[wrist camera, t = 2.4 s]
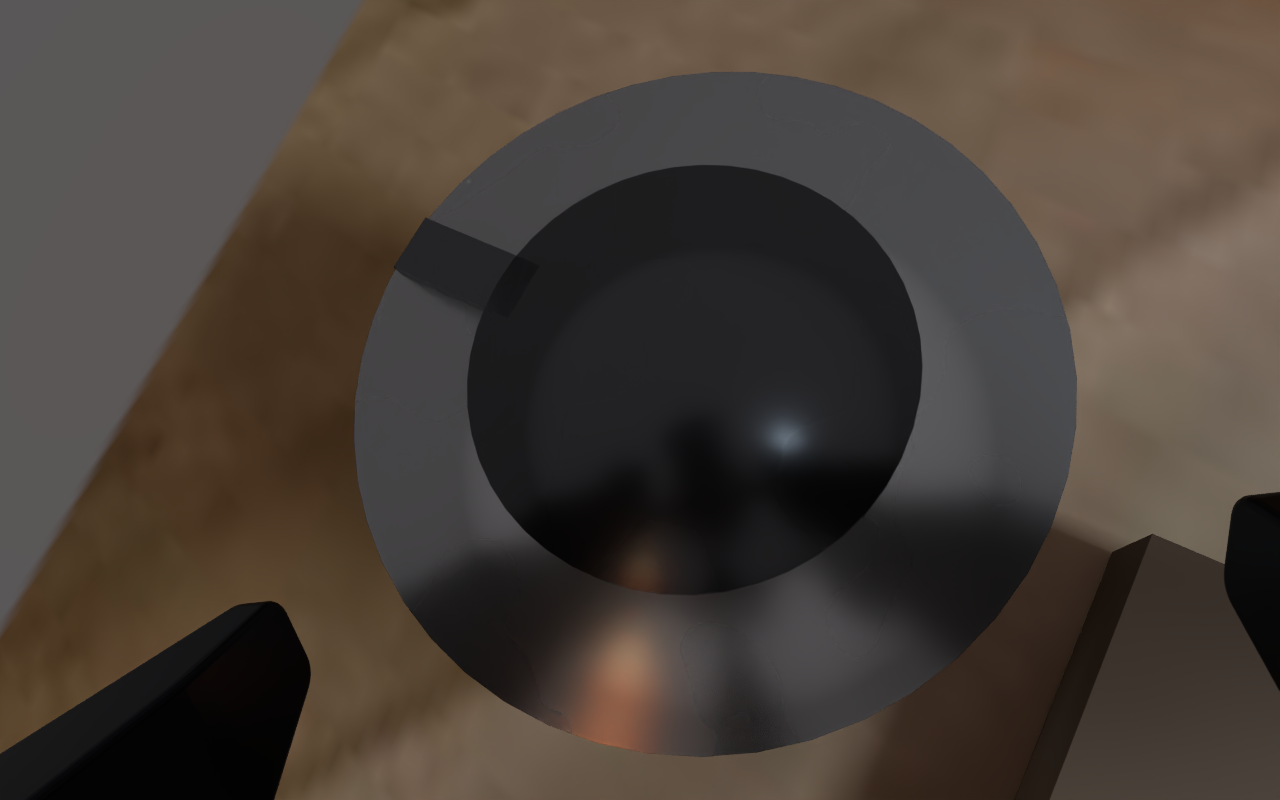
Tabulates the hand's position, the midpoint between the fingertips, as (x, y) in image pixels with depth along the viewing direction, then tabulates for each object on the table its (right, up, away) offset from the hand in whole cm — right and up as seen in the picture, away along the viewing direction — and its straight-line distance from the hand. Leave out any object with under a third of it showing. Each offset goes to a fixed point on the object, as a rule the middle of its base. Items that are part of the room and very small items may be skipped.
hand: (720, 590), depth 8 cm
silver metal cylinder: (+2, -1, +9) cm, 9 cm away
